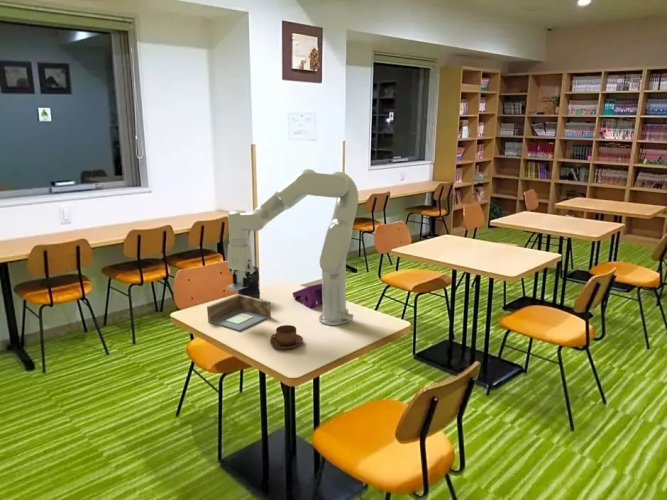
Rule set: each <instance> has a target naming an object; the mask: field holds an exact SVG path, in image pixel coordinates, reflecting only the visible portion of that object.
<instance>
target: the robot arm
mask: <svg viewBox="0 0 667 500" xmlns="http://www.w3.org/2000/svg"><path fill="white" fill-rule="evenodd" d="M307 196H315V197H324V198H332V199H333V198H336V201H335V205H334V211H333V214H332V218H331V221H330V223H329V226H328V228H327V231H326V234H325V238H324V241H323V242H324V243H323V246H322V250H321V254H320V257H319V266H320V269H321V284H322V303H323V304H322V314H320V315H319V316H318V320H319V322H320V324H321V323H322V324H324V325H328V326H339V325H345V324H347V323H349V322H352V321H353V320H354V313H350V312H349V309H348V308H347V291H346V290H347V286H346V285H347V284H346V283H347V282H346V281H347V277H346V275H347V273H346V272H347V271H346V270H347V269H346V268H347V266H346V265H347V256H348V252H349V249H350V245H351V242H352V237H353V228H354V223H355V222H354V221H355V219H356V215H357V210H358V206H359V191H358V187H357V185H356V183H355V182H354V180H353V178H352V177H350V176H349V175H348V174H346V173H345V172H343V171H336V172H333V173H321V172H320V173H319V172H317V171H315V170H313V169H310V168H308V169H307V168H306V169H304V170H302V171H300V172H299V173H298V174H296V176H294V177H293V178H292V179H290V180H288V181H287V182H286V183H285V184H283V185H282V186H281V187H279V189H277V190H276V191H275V192H274V193H273V194H272V196H271V197H269V198H268V199H267V200H266V201H264V202H262V203H261V204H260V205H259V206H258V207H256V208H254V209H253V210H252V211H251V212H247V211H245V210H240V209H239V210H232V211H229V212H228V213H227V214H228V215H227V220H228V221H227V222H228V235H229V237H228V241H229V244H228V245H227V252H226V253H227V255H226V256H227V257H226V259H227V260H226V261H227V264H226V267H227V268H228V270H229V271H230V273H231V275H232V284H234V283H236V276H235V271H242V272H243V276H244V278H243V287H247V286H250V278H249V277H250V276H251V274H252V273H253V272H254V271H255V269H254V268H253V266H254V265H253V258H252V250H251V245H250V241H249V239H250V238H249V231H251V232H258V231H261V230H262V229H264V228H265V226H266V225H268V223H270V222H271V221H272V220H273V219H275V218H276V217H278V216H279V215H281V214H282V213H283V212H285V211H287V210H290V209H291V208H293V207H294V206H295V205H297V204H298V203H299V202H301V201H302V200H303V199H305V198H306V197H307ZM249 269H250V270H249ZM246 271H247V273H246Z"/></svg>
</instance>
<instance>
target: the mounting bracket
mask: <svg viewBox="0 0 667 500" xmlns="http://www.w3.org/2000/svg"><path fill="white" fill-rule="evenodd" d="M292 297H293V298H299V297H301V301H302V304H303V305H304V307H306V308H308V309H310V308H314V307H315V306H317V305H316V304H317V302H318V303H319V304H321V305H323V303H322V283H318V284H315V285H313V284H312V285H310V286H306V287H304V288H302V289H299V290H297V291H294V292H292Z"/></svg>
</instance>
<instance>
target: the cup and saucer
mask: <svg viewBox="0 0 667 500" xmlns="http://www.w3.org/2000/svg"><path fill="white" fill-rule="evenodd" d="M303 341H304V338H303V336H302V335H300V334H297V327H296V326H294V325H290V324H286V325H279V326H277V327H276V329H275V333H273V334H272V335H271V336H270V340H269V342H270V345H271V346H273V347H274V348H277V349H281V350H290V349H294V348H297V347H299V346H300V345H301V344H302V343H303Z"/></svg>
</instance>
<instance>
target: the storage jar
mask: <svg viewBox="0 0 667 500" xmlns="http://www.w3.org/2000/svg"><path fill="white" fill-rule="evenodd" d="M252 266H253V268H254V269H255V271H254V272H253V273H252V274H251V276H250V277H249V278H250V286H248V287H246V288H243V289H240V290H238V291H237V295H238V294H241V295H245V296H249V297H253V298H257V299H261V298H260V297H261V292H260V285H259V280H260V274H259V272H260V271H259V267H257V266H254V265H252ZM249 270H250V269H249ZM246 273H247V271H246Z"/></svg>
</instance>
